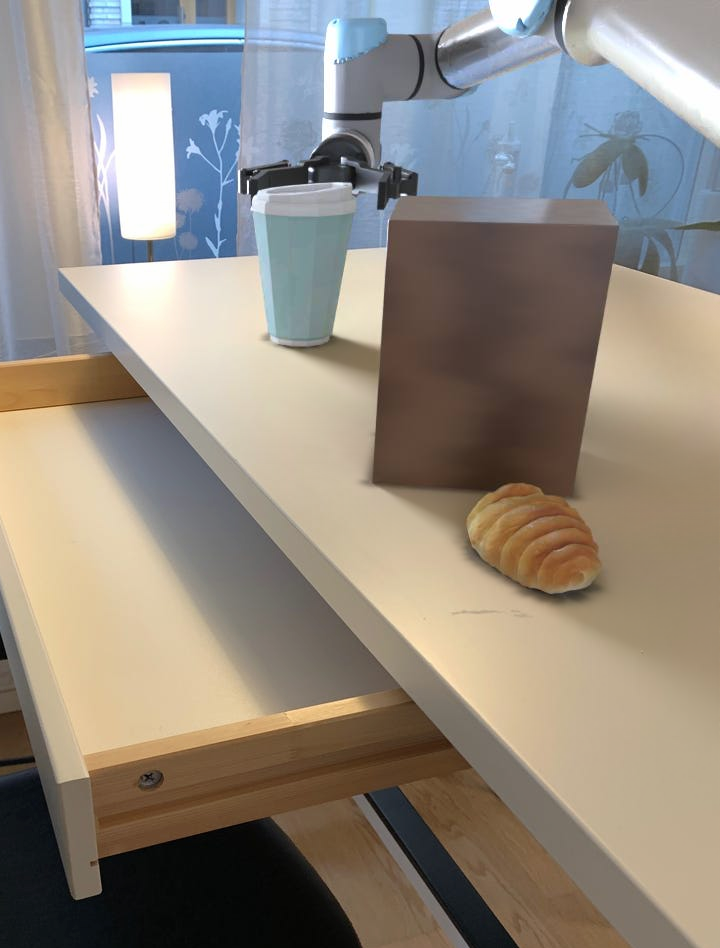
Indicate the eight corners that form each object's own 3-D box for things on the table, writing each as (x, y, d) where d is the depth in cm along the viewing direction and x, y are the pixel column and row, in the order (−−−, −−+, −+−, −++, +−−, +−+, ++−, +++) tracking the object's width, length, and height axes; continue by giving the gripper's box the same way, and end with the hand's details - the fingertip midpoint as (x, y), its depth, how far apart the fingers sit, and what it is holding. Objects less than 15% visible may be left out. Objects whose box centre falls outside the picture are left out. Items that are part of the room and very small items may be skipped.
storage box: (553, 390, 91) (587, 171, 82) (571, 498, 71) (619, 225, 62) (396, 382, 94) (412, 169, 84) (372, 484, 74) (388, 220, 64)
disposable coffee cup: (236, 348, 104) (234, 189, 96) (267, 322, 112) (267, 174, 104) (338, 357, 101) (344, 193, 93) (361, 329, 109) (369, 177, 101)
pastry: (627, 591, 60) (640, 533, 58) (524, 609, 58) (533, 550, 56) (544, 526, 67) (553, 472, 65) (451, 540, 66) (457, 486, 64)
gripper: (440, 202, 125) (432, 235, 108) (242, 197, 130) (203, 228, 112) (446, 134, 121) (439, 157, 104) (242, 132, 126) (201, 153, 108)
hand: (317, 194), depth 108 cm, fingers open, 13 cm apart
